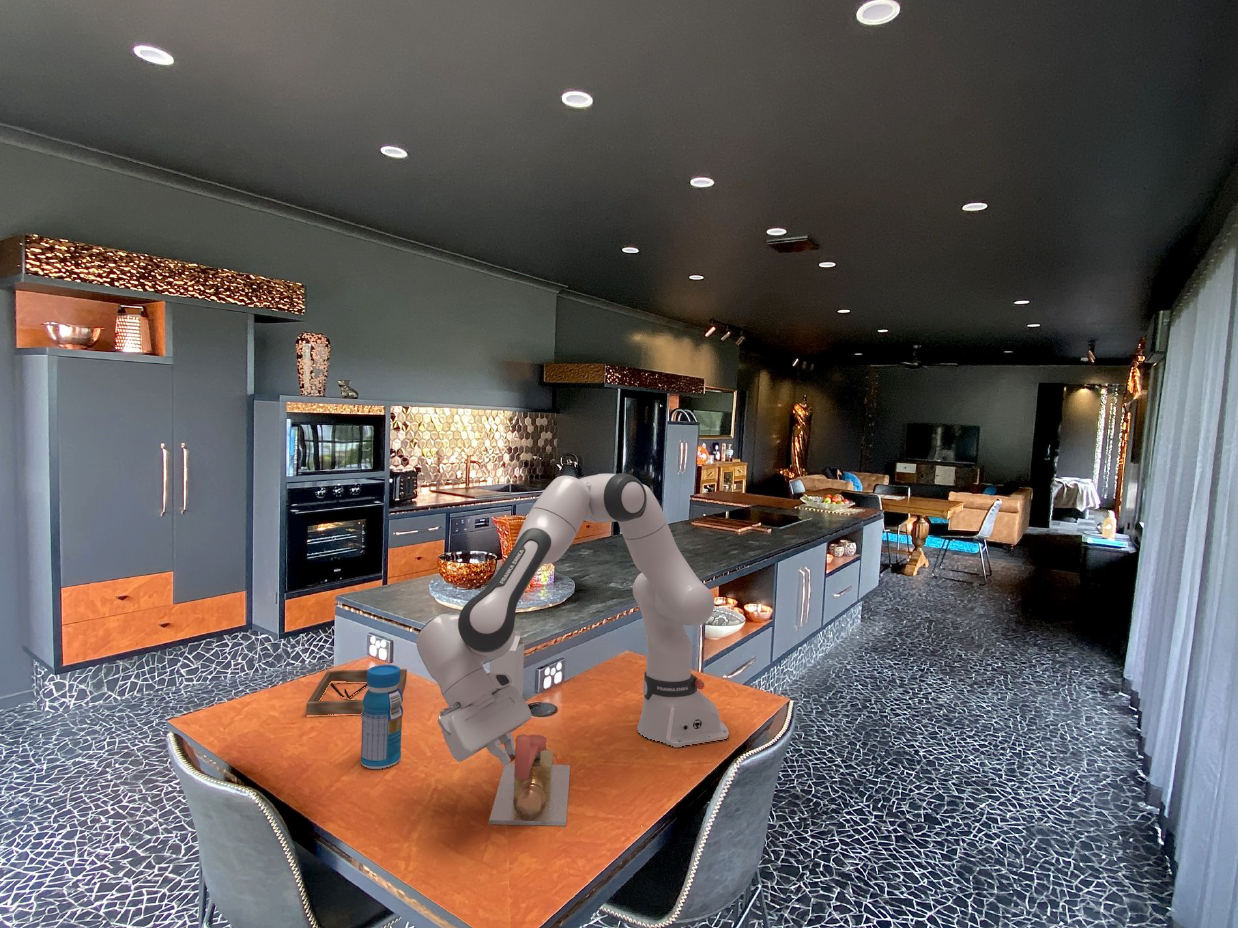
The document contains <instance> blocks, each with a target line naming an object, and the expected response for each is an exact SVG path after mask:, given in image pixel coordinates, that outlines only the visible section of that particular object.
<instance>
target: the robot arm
mask: <svg viewBox="0 0 1238 928" xmlns="http://www.w3.org/2000/svg"><path fill="white" fill-rule="evenodd" d="M525 517H526V518H525V520H524V521H523V524H522V526H521V528H520V529H519V532H518V535H517V538H516V540H515V543H514V546H513V548H512V549H511V551H510V552H509V553H508V555H507V557H506V558H505V560H504V562H503V563H502V565H501V566H500V568H499V569H498V571H496V574H495V575H494V577H493V578H492V580H491V581H490V582H489V584H488V585H487V586H486V587H485V588H484V589H483V590H482V591H480V592H479V593H478V594H476V595H474V596H473V597H472V598H471V599H469V600H468V601H467V602H466V603H465V604H464V606H463V607H462V609H461V610H460V613H459V614H446V613H442V614H438V615H437V616H435V617H433V618H432V619H430V620H429V621H428V622H427V623H425V625H423V627H422V628H421V630H420V631H419V632H418V634H417V637H416V640H415V641H416V643H415V644H416V650H417V652H418V655H419V657H420V658H421V662H422V664H423V665H424V666H425V668H426V671H427V672H428V674H429V675H430V677H431V678H432V679H433V680H434V681H436V683H437V685H438V686H439V688H440V692H441V695H442V697H443V699H444V701H445V703H446V704H447V706H448V707H445V708H443V709H441V710H440V711H439V714H438V717H437V723H438V725H439V727H440V729H441V733H442V736H443V739H444V741H445V743H446V746H447V748H448V751H449V752H450V754H451V756H452V758H453V759H454V760H456V761H457V762H459V763H462V762H463V761H465V760H467V759H469V758H470V757H471V756H474V755H476V754H477V753H479V752H480V751H482V750H483V749H485V748H486V749H487V751H488V753H490V754H491V755H492V756H494V757H495V758H497V759H498V760H499V761H500V763H501V765H502V766H503V767H504V766H506V765H507V764H511V763H512V762H513V761H515V748H516V747H515V741H514V735H513V734H512V733H513V732H514V731H515V730H518V729H519V728H521V727H522V726H524V725H525V724H526V723H527V722H528V721H530V719H532V712H531V709H530V707H529V705H528V703H527V702H526V700H525V699H524V697H523V694H522V695H521V694H520V693H519V691H518V690H517V689H516V688H515V687H513V686H509V685H510V684H511V683H512V679H511V678H510V676H509V675H508V674H494V673H489V672H487V671H486V669H485V668H484V666H483V665H486V664H488V663H490V661H492V660H495V659H497V658H499V657H501V656H503V655H504V654H506V653H507V652H508V651H509V649H510V648H511V647H512V645H513V642H514V638H515V632H516V630H515V622H516V621H515V620H516V610H517V607H518V605H519V604H518V603H519V602H520V600H521V598H522V597H523V595H524V593H525V592H526V591H527V588H528V587H529V585H530V583H532V580H533V578H534V577H535V575H536V574H537V572H538V571H539V570H540V568H541V567H543V566H544V565H546V564H552V563H555V562H557V561H559V560H560V559H561V558H562V557H563V556H564V554H565V553H566V552H567V550H568V549H569V548H570V547H571V544H572V543H573V541H574V539H575V538H576V537H577V535H578V532H579V530H580V529H581V526H582V524H583V523H587V522H588V523H595V524H596V523H597V524H607V523H614V522H617V523H618V526H619V529H620V531H621V534H622V537H623V539H624V543H625V544H626V547H627V549H628V552H629V554H630V556H631V559H632V562H633V563H634V566H635V567H636V568H637V569H638V570H639V571H640V573H639V574H638V575H637V577H636V578H635V580H634V581H633V584H632V585H633V586H632V595H633V598H634V600H635V602H636V603H637V606H638V607H639V610H640V614H641V616H642V617H641V618H642V621H643V626H644V632H645V637H646V665H645V666H646V667H645V668H646V670H645V671H644V675H643V676H644V678H643V683H642V684H643V686H642V692H643V693H642V694H643V703H642V709H641V714H640V717H639V721H638V724H637V726H636V731H637V730H638V731H637V732H638V733H640V734H639V735H641V736H642V735H643V736H644V737H643V736H642V737H643V738H645V737H647V738H648V740H650V739H652V740H651V741H653V740H655V741H654V742H657V741H660V742H659V743H661V742H663V743H662V744H665V743H666V744H665V745H667V746H669V745H671V746H670V747H672V746H673V747H672V748H682V746H684V747H686V746H685V745H690V746H693V745H692V744H695V743H703V742H707V741H715V740H718V739H725V738H727V737H728V735H729V736H730V732H729V729H728V727H727V726H726V724H725V722H723V721H721V718H720V714H719V710H718V708H717V706H716V704H715V703H714V702H713V701H712V700H710V698H709V697H707V696H706V694H704V693H702V692H701V691H700V690H703V689H704V688H705V682H704V681H703V680H702V679H700V678H698V677H697V676H696V675H694V674H693V673H692V660H693V659H692V658H693V656H692V655H693V645H692V641H691V639H690V638H689V636H688V634H687V631H686V630H685V627H684V626H691V627H692V626H693V627H694V626H696V627H698V626H702V625H704V624H705V623H707V621H708V620H710V618H711V616H712V615H713V612H714V611H715V610H714V609H715V598H714V595H713V592H712V591H711V590H710V589H709V588H708V587H707V586H706V585H705V584H704V583H703V582H702V581H701V580H700V578H699V577H698V575H696V573H695V572H694V571H693V569H692V567H691V566H690V565H689V563H688V562H687V560H686V558H685V557H684V556H683V554H682V553H681V551H680V549H679V548H678V546H677V545H678V544H676V543H677V542H676V541H675V539H674V535H673V534H672V531H671V529H670V526H669V523H668V521H667V518H666V517H665V513H664V511H663V510H662V507H661V505H660V503H659V500H658V499H657V498H656V496H655V494H654V492H652V490H651V488H650V487H649V486H647V485H645V484H643V483H642V482H641V481H640V480H639V479H638V478H637V477H636V476H634V475H631V474H628V473H624V472H623V473H622V472H621V473H598V474H593V475H589V476H585V475H584V476H579V477H575V476H571V475H561V476H557V477H555V479H553V480H552V481H551V482H550V484H549V485H548V486H547V487H545V489H544V490H543V491H542V493H541V494H540V495H539V497H538V498H537V499H536V502H534V504H533V506H532V507H531V509H530V510H529V512H528V514H527V516H525ZM647 738H646V739H647ZM703 744H704V743H703ZM501 745H503V747H504V748H503V747H502V746H501Z"/></svg>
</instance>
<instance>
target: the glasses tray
mask: <svg viewBox="0 0 1238 928" xmlns="http://www.w3.org/2000/svg"><path fill="white" fill-rule="evenodd" d="M368 670H369V669H346V670H344V669H343V670H342V669H341V670H338V669H337V670H327V671H326V672H325V674H324V676H323V677H322V678H321V679H320V681H319V683H318V684H317V686H316V688H315V690H314V691H313V693H312V694H311V696H310V697H309V699H308V700H307V702H306V708H305V709H306V710H305V711H306V712H305V716H306V715H328V714H329V715H330V714H331V715H332V714H333V715H334V714H361V713H362V710H363V709H364V706H363V699H355V700H345V699H343V700H321V701H319V700H320V698H321V697H322V695H323V693H324V692H325V690H326V688H327V687H328V685H329V683H330V682H331V681H346V682H367V672H368ZM407 672H408V668H400V682H399V685H397V686H398V688H399V689H400V691H401V693H402V696H403V694H404V691H405V687H406V683H407V674H408V673H407Z"/></svg>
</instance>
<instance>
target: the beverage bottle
mask: <svg viewBox="0 0 1238 928" xmlns="http://www.w3.org/2000/svg"><path fill="white" fill-rule="evenodd" d="M400 669H401V667H399V666H397V665H394V664H379V665H373V666H372V667H370V668H368V669H367V670H368V672H367V683H366V684H367V687H368V690H367V691H365V694H364V696H363V698H362V700H363V706H364V709H363V710H362V714H361V716H360V717H361V741H360V742H361V743H360V745H361V749H360V763H361V766H363V767H365V768H366V767H367V769H371V770H382V768H383V769H387V768H386V767H388V768H390V766H391V767H393V766H395V765H396V764H398V763H399V762H400V760H401V757H402V751H401V750H402V749H401V748H402V729H403V728H402V727H403V715H404V707H403V706H402V703H403V701H404V696H403V695H402V693H401V691H400V689H399V688H398V686H397V685H399V682H400ZM392 765H393V766H392Z"/></svg>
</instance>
